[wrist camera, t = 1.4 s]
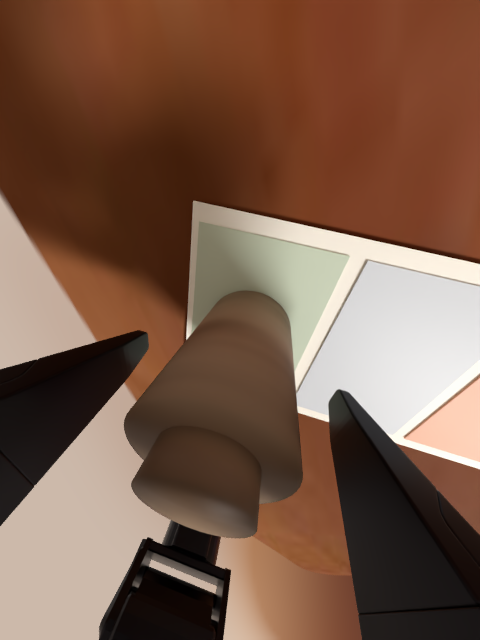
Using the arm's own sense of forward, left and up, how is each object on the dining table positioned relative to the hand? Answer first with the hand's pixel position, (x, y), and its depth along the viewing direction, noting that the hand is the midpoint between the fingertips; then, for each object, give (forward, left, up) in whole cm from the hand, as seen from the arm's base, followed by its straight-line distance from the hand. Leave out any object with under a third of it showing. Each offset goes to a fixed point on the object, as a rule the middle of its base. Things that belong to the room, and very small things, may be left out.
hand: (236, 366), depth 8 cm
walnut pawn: (0, 0, -3) cm, 3 cm away
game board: (0, -8, -4) cm, 9 cm away
